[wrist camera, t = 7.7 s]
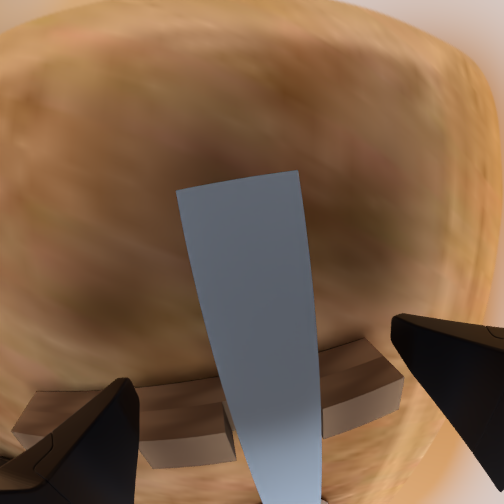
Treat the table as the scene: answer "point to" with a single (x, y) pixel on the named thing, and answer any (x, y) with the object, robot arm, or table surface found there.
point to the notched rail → (217, 410)
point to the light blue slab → (261, 324)
